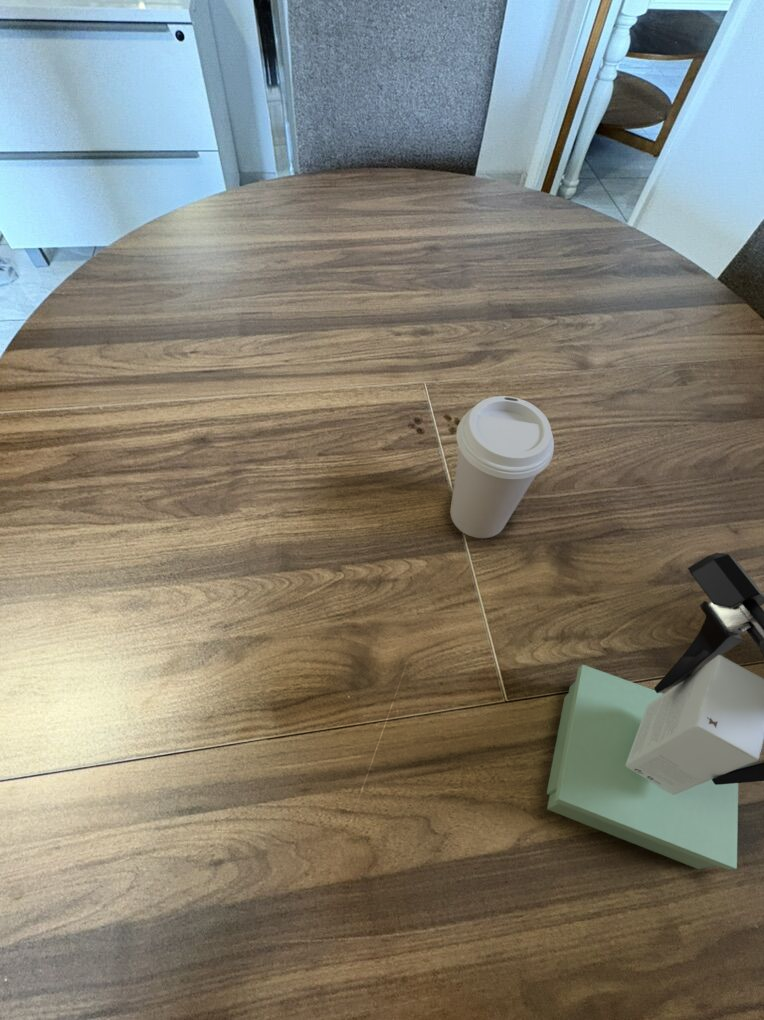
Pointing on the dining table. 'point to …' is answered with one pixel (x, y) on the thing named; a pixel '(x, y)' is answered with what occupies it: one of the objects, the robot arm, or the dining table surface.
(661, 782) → the cosmetic box
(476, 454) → the coffee cup
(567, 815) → the stand
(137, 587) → the dining table surface
